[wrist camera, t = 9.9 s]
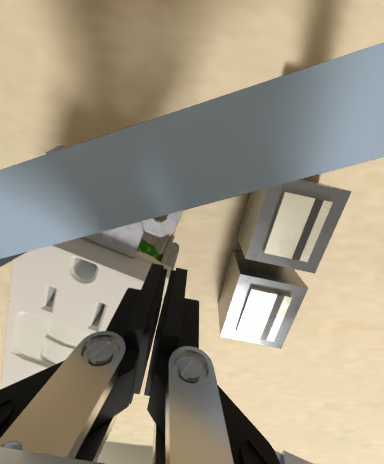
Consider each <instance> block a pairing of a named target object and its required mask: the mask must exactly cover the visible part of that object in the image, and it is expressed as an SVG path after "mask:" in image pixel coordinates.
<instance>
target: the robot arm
mask: <svg viewBox="0 0 384 464" xmlns="http://www.w3.org/2000/svg"><path fill="white" fill-rule="evenodd" d="M166 275H167V269H164V265H160V264H154V263H152V265H151V267H150V269H149V272H148V274H147V277H146V279H145V281H144V284H143V286H142V288H141V290H139V289H134V288H128V289H127V290H126V292H125V294H124V296H123V298H122V300H121V302H120V304H119V306H118V308H117V310H116V312H115V313H114V315H113V317H112V319H111V321H110V323H109V325H108V327H107V329H106V331H99V332H96V333H92V334H90V335H89V336H87V337H85V338H84V339H83V340H82V341H81V342H80V343H79V344H78V345H77V347H76V348H75V349H74V350H73V351H72V353H71V354H70V355H69V356H68V357H67V359H66V360H64V361H62V362H60V363H58V364H55V365H53V366H51V367H49V368H47V369H44V370H42V371H40V372H38V373H36V374H33V375H31V376H29V377H27V378H25V379H22V380H20V381H18V382H16V383H14V384H11V385H9V386H7V387H5V388H2V389H0V464H104V463H97V460H98V457H99V455H100V453H101V451H102V449H103V447H104V444H105V442H106V440H107V438H108V436H109V433H110V431H111V429H112V427H113V425H114V422H115V420H116V416H117V414H118V413H120V412H121V411H122V410H124V409H125V408H127V407H128V406H129V403H130V404H131V402H132V398H133V395H134V393H135V394H140V390H141V386H142V382H143V378H144V374H145V370H146V366H147V362H148V358H149V354H150V350H151V346H152V342H153V338H154V334H155V330H156V326H157V322H158V317H159V312H160V307H161V302H162V297H163V291H164V286H165V281H166ZM186 279H187V270H185V269H180V268H176V271H174V270H171V272H170V277H169V281H168V285H167V289H166V293H165V297H164V301H163V305H162V309H161V314H160V318H159V322H158V326H157V330H156V335H155V340H154V345H153V350H152V356H151V361H150V366H149V372H148V377H147V382H146V387H145V393H144V395H147V396H150V398H149V403H148V408H147V410H148V412H149V413H150V415H151V417H152V418H153V420H154V422H155V425H154V439H153V464H312V463H310V462H308V461H306V460H303V459H301V458H299V457H297V456H295V455H293V454H290V453H288V452H286V451H284V450H283V452H282V454H281V453H279V452H276V451H274V449H273V448H272V446H271V445H270V444H269V442H268V441H267V440H266V439H265V437H264V436H263V435H262V434H261V433H260V432H259V431H258V430H257V429H256V427H255V426H254V425H253V424H252V423H251V422H250V421H249V420H248V418H247V417H246V416H245V415H244V414H243V413H242V412H241V411H240V409H239V408H238V407H237V406H236V405H235V404H234V403H233V402H232V401H231V399H230V398H229V397H228V396H227V395H226V394H225V393H224V392H223V390H222V389H221V388H220V387H219V386H218V385H217V381H216V377H215V372H214V367H213V364H212V362H211V359H210V358H209V357H208V355H207V354H206V353H204V352H203V351H202V350H200V349H199V301H196V300H191V299H186V298H184V297H185V288H186Z"/></svg>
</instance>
